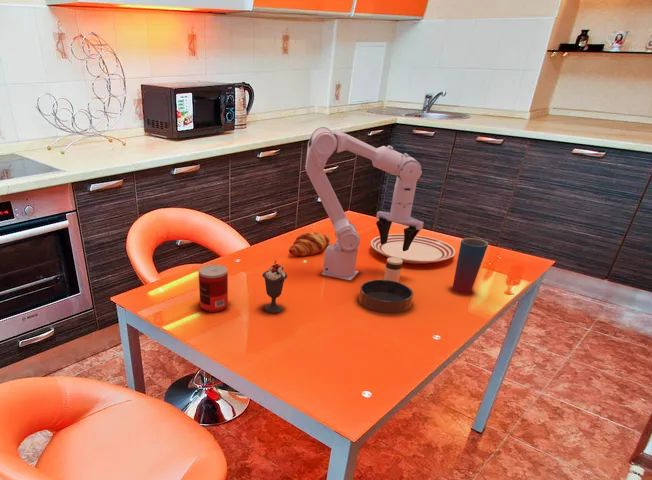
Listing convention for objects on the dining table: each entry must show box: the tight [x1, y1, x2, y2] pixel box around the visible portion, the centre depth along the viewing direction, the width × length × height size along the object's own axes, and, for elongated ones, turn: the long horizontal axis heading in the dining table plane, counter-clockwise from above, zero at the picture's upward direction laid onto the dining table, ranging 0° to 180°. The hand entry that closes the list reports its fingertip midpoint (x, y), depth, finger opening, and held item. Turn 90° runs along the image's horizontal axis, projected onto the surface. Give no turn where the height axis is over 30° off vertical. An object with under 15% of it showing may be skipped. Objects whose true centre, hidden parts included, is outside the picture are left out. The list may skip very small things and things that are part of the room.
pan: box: [358, 279, 414, 315], centre depth 133 cm, size 14×14×4 cm
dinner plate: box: [370, 233, 456, 265], centre depth 164 cm, size 27×27×3 cm
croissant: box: [288, 231, 331, 257], centre depth 168 cm, size 21×10×8 cm, turn 132°
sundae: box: [261, 260, 288, 314], centre depth 128 cm, size 7×7×15 cm
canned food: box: [198, 264, 229, 313], centre depth 131 cm, size 8×8×11 cm
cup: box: [451, 237, 489, 295], centre depth 136 cm, size 7×7×15 cm
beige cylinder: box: [383, 257, 404, 283], centre depth 142 cm, size 4×4×8 cm
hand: (394, 246), depth 145 cm, fingers open, 7 cm apart
